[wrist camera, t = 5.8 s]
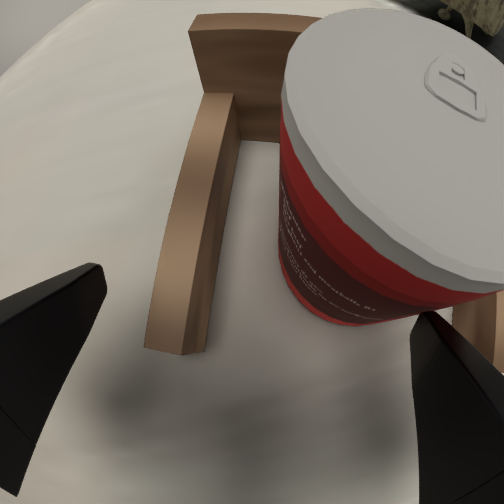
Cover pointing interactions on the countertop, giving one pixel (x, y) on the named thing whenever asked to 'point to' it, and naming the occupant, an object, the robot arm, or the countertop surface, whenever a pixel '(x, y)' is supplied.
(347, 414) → the countertop surface
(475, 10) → the tabletop clock
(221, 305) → the countertop surface
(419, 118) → the canned food
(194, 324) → the cradle
